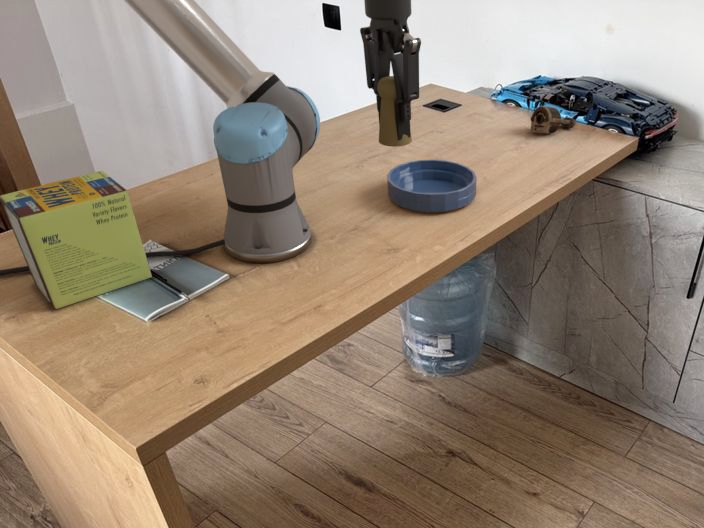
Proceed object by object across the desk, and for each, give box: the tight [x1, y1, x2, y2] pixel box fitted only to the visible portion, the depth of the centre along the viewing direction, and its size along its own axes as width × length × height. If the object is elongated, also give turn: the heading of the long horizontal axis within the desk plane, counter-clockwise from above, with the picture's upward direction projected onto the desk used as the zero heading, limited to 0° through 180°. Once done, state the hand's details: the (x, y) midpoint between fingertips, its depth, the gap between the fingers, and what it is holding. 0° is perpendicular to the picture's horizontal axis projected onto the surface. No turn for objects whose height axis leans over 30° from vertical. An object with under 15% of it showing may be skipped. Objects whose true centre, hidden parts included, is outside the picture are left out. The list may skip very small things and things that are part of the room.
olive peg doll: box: [377, 75, 413, 148], centre depth 119 cm, size 6×6×11 cm
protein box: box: [0, 170, 153, 310], centre depth 106 cm, size 10×15×16 cm
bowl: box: [386, 159, 478, 214], centre depth 140 cm, size 18×18×4 cm
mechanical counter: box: [529, 105, 577, 135], centre depth 173 cm, size 7×13×10 cm
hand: (395, 134), depth 122 cm, fingers closed on olive peg doll, 4 cm apart
